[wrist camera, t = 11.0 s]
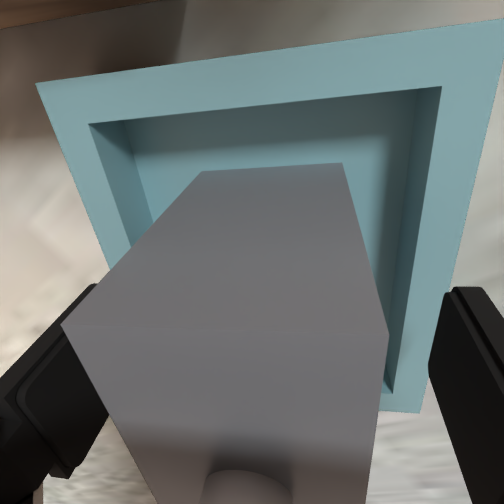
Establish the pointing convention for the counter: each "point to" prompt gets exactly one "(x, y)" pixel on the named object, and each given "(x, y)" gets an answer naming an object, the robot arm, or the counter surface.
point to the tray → (305, 152)
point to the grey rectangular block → (243, 342)
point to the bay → (53, 9)
